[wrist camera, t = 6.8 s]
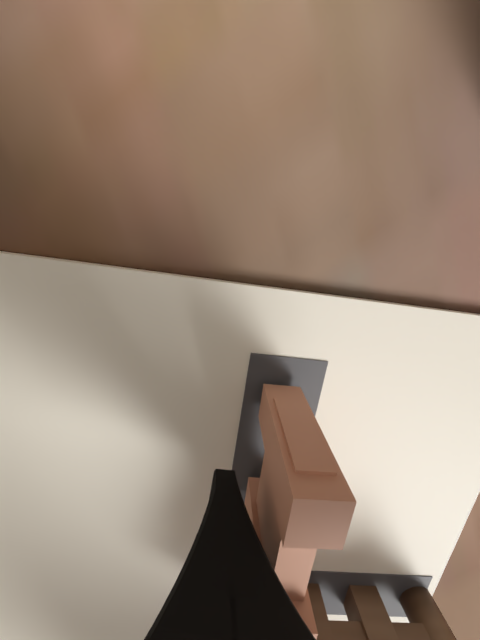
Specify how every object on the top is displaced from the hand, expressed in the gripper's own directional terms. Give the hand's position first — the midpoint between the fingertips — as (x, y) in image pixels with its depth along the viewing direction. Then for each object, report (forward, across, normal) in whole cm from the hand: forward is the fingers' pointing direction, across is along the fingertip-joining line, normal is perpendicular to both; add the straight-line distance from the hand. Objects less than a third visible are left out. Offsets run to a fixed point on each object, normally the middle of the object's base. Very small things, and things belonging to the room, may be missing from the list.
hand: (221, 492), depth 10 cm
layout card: (+2, -1, +4) cm, 5 cm away
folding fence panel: (+2, -2, +1) cm, 3 cm away
